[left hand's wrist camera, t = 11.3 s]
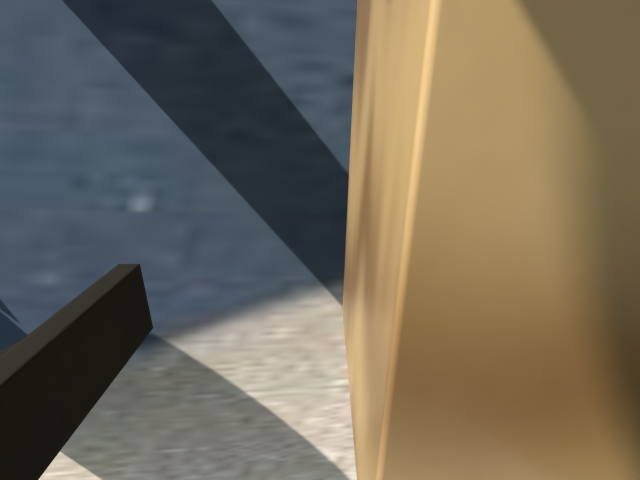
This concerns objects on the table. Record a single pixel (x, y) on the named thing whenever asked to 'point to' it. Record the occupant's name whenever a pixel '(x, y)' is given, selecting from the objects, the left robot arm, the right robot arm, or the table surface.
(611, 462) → the birch bar
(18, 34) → the table surface
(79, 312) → the left robot arm
